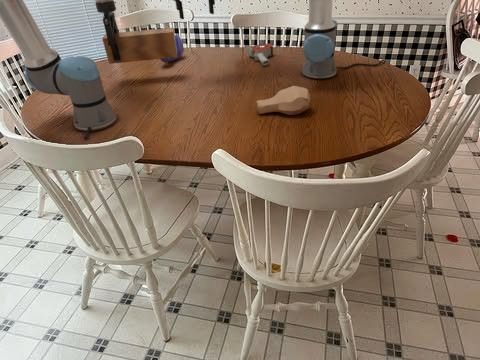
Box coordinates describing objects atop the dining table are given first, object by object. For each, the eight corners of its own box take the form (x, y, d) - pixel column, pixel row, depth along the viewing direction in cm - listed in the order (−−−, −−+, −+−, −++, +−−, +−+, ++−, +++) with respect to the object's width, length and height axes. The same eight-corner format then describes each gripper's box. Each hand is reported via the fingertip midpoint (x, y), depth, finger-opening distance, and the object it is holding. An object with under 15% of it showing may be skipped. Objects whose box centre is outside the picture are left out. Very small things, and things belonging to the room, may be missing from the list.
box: (109, 63, 156) (102, 38, 149) (111, 58, 162) (105, 33, 156) (177, 57, 158) (173, 31, 152) (177, 51, 164) (173, 27, 158)
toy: (171, 62, 199) (152, 68, 177) (167, 30, 192) (146, 32, 170) (188, 61, 197) (171, 67, 175) (184, 29, 190) (166, 30, 168)
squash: (314, 116, 128) (313, 95, 122) (259, 125, 130) (256, 105, 124) (308, 99, 136) (307, 78, 129) (257, 108, 138) (253, 88, 131)
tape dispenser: (265, 70, 173) (284, 55, 186) (265, 59, 170) (284, 45, 183) (235, 63, 181) (255, 50, 193) (235, 53, 177) (255, 40, 190)
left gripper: (109, 4, 137) (124, 63, 150) (117, -5, 153) (129, 49, 167) (89, 6, 136) (106, 65, 150) (99, -3, 153) (113, 50, 166)
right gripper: (215, -47, 143) (219, 10, 156) (156, -42, 134) (165, 19, 146) (223, -47, 138) (227, 12, 150) (162, -41, 128) (172, 22, 141)
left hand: (118, 56), depth 158 cm, fingers closed on box, 8 cm apart
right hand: (197, 16), depth 148 cm, fingers open, 13 cm apart
